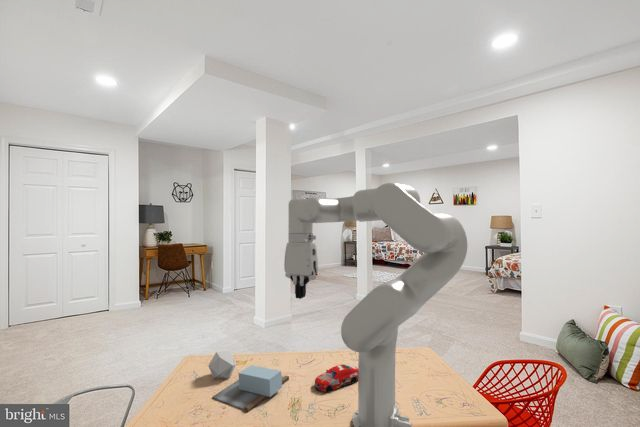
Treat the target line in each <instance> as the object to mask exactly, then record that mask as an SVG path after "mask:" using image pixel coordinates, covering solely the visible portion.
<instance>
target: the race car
mask: <svg viewBox="0 0 640 427" xmlns="http://www.w3.org/2000/svg"><path fill="white" fill-rule="evenodd" d="M356 382H358V367H357V366H355V365H353V364H338V365H335V366H333V367H330V368H329V369H326V370H325V372H323V373H321V374H319V375H318V376H317V377H316V378H315V379H314V387H315V389H316V390H318V391H320V392H324V393H325V392H326V393H329V392H332V391H333V390H336V389H340V388H342V387H344V386H347V385H352V384H356Z"/></svg>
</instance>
